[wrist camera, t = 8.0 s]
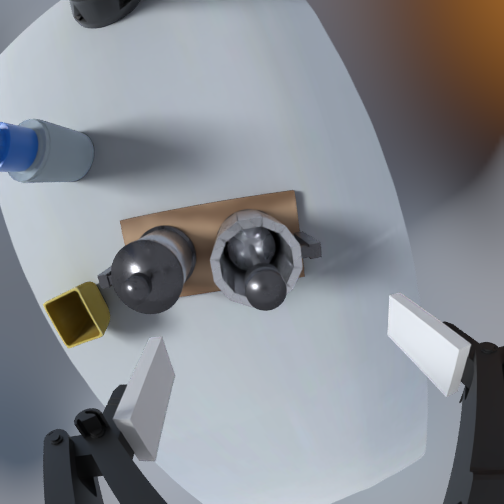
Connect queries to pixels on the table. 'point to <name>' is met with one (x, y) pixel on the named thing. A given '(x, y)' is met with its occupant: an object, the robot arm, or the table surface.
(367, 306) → the table surface
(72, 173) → the spray bottle
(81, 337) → the flower pot
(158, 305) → the short press
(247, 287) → the plunger
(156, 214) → the serving board
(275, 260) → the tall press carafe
